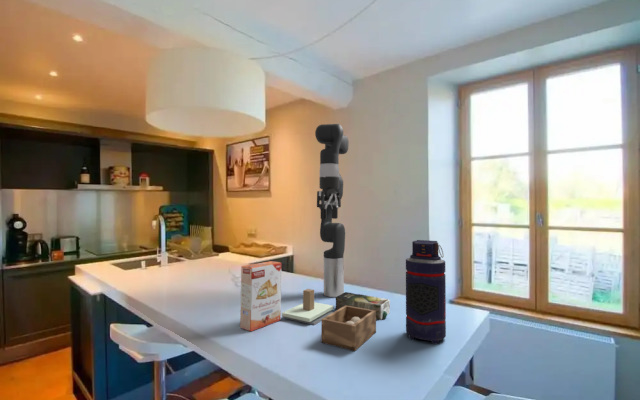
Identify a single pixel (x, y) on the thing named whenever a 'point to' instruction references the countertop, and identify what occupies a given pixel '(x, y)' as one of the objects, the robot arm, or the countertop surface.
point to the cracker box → (260, 295)
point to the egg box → (348, 327)
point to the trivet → (313, 320)
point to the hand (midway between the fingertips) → (329, 219)
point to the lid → (308, 308)
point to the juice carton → (364, 303)
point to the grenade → (425, 292)
